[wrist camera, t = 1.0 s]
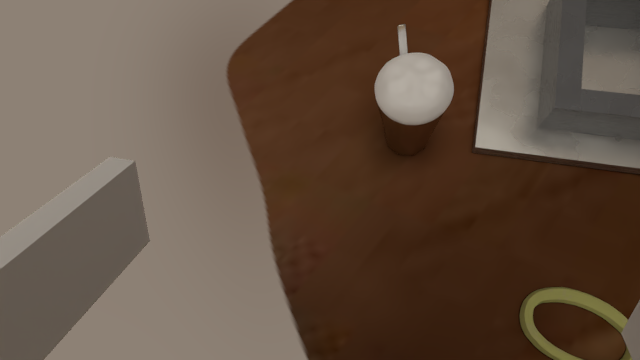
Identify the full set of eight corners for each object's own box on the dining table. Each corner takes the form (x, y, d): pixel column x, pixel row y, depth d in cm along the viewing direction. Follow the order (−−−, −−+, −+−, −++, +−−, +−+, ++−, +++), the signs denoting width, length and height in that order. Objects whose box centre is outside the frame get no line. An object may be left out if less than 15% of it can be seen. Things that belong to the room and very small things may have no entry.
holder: (745, 6, 34) (800, -39, 29) (751, 189, 30) (814, 169, 26) (490, -12, 37) (505, -55, 32) (471, 152, 34) (485, 129, 29)
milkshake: (425, 92, 35) (441, 14, 26) (444, 156, 34) (469, 98, 24) (368, 106, 36) (362, 34, 26) (384, 170, 34) (384, 119, 25)
